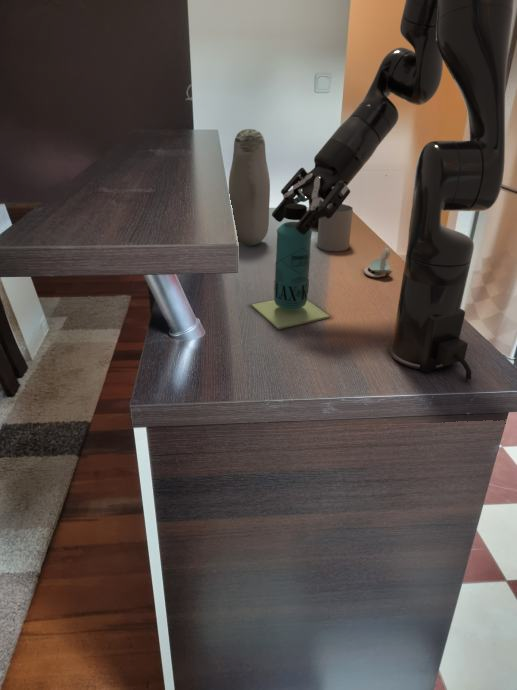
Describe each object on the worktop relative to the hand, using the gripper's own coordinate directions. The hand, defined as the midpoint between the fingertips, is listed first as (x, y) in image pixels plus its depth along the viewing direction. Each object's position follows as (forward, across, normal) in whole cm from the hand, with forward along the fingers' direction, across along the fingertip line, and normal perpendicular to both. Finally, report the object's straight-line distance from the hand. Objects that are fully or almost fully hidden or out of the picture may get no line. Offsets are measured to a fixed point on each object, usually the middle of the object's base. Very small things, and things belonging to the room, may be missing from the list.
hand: (286, 224), depth 90 cm
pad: (+11, 0, +13) cm, 17 cm away
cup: (-10, -30, +34) cm, 47 cm away
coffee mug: (-15, -46, +39) cm, 62 cm away
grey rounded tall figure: (+4, -41, +21) cm, 46 cm away
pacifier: (-8, -9, +33) cm, 35 cm away
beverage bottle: (+11, 0, +13) cm, 17 cm away
